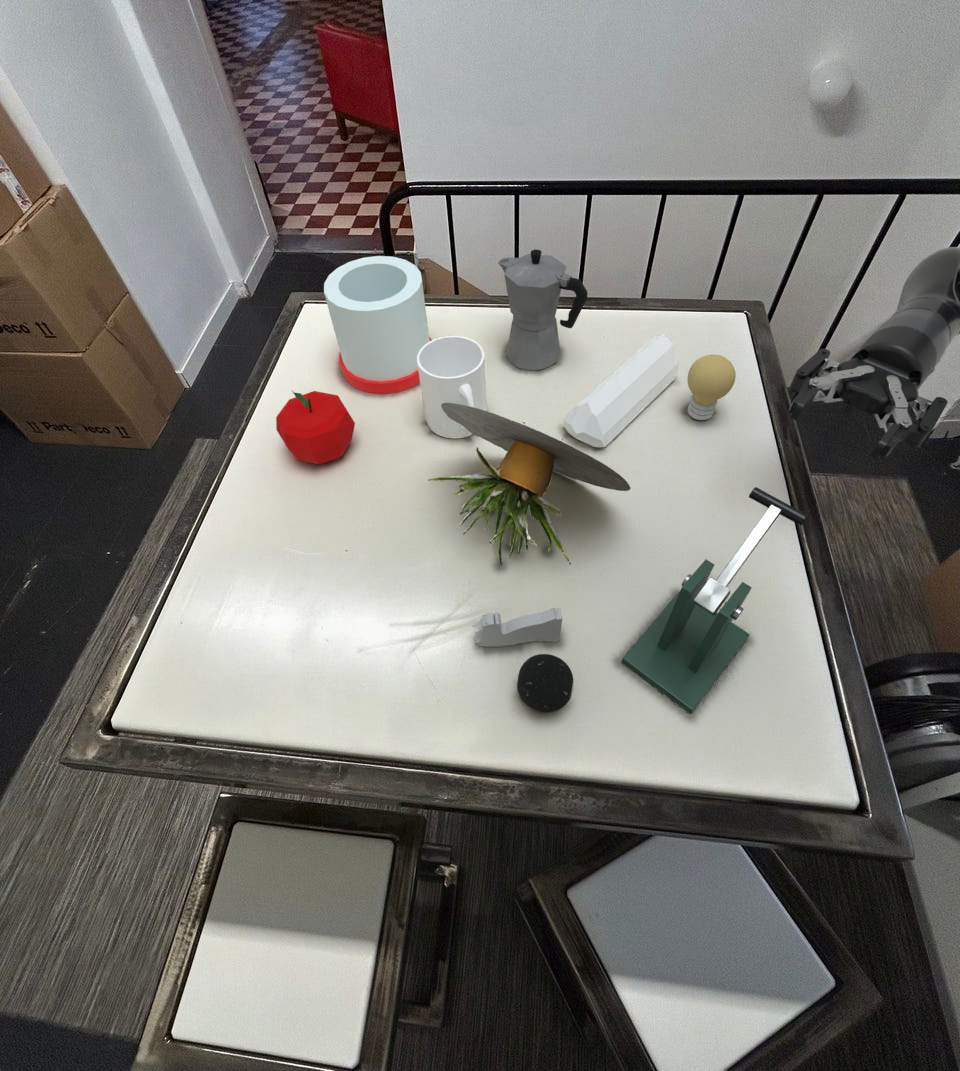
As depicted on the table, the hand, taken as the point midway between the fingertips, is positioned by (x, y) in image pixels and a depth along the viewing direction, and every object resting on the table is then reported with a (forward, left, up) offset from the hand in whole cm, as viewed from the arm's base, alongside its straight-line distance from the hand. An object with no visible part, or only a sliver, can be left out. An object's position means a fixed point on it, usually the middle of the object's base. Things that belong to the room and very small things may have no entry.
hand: (835, 432), depth 63 cm
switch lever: (+3, +15, -6) cm, 17 cm away
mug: (+47, +2, -19) cm, 50 cm away
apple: (+62, +17, -19) cm, 67 cm away
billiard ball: (+15, +33, -19) cm, 41 cm away
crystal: (+28, -14, -19) cm, 36 cm away
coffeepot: (+45, -18, -19) cm, 52 cm away
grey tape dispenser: (+21, +29, -19) cm, 41 cm away
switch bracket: (+4, +20, -19) cm, 28 cm away
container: (+66, -4, -19) cm, 68 cm away
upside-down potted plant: (+30, +13, -19) cm, 38 cm away
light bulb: (+17, -18, -19) cm, 31 cm away
